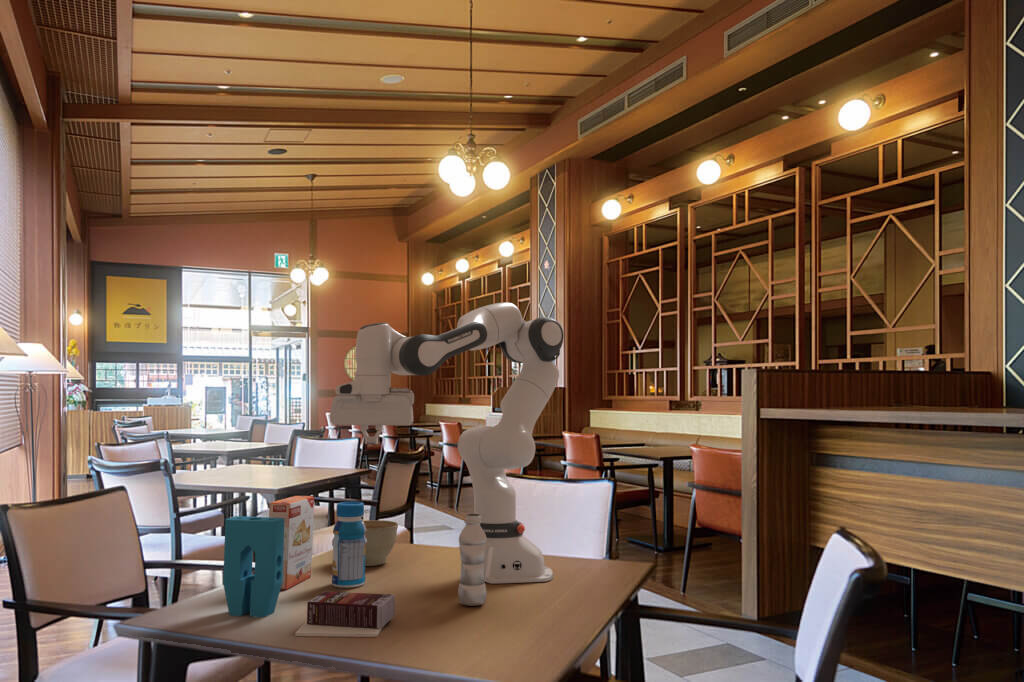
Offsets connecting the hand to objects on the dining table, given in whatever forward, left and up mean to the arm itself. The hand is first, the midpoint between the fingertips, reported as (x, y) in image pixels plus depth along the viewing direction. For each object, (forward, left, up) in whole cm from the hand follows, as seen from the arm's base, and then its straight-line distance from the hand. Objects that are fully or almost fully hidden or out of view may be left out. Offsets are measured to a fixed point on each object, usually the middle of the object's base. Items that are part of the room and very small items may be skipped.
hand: (371, 444), depth 181 cm
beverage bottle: (+6, -5, -35) cm, 36 cm away
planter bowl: (+6, -29, -35) cm, 46 cm away
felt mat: (-1, +28, -35) cm, 45 cm away
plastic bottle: (-26, +12, -35) cm, 45 cm away
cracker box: (+21, -6, -35) cm, 42 cm away
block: (+21, +20, -35) cm, 46 cm away
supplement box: (-10, +28, -32) cm, 44 cm away
